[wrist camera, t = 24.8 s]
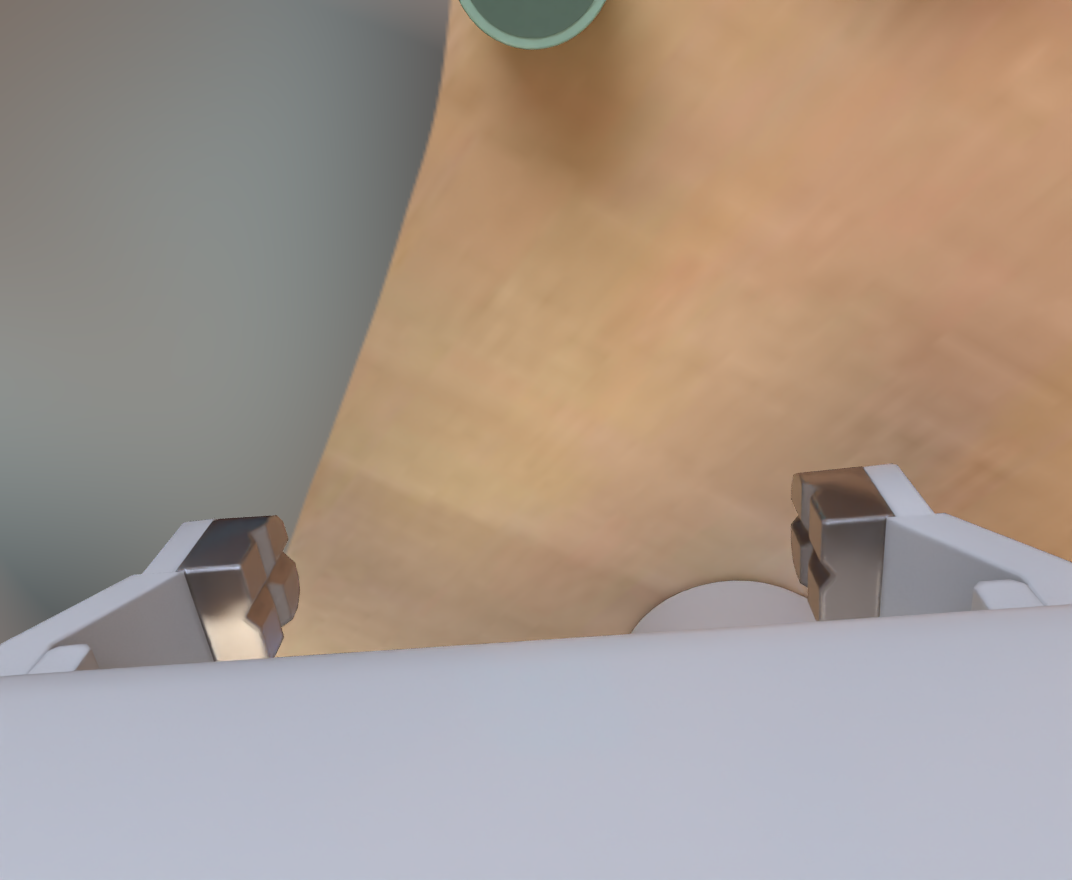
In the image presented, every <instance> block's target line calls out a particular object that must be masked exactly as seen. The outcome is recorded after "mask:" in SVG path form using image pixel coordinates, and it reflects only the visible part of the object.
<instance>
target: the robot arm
mask: <svg viewBox="0 0 1072 880" xmlns="http://www.w3.org/2000/svg"><path fill="white" fill-rule="evenodd" d="M791 500H792V502H793V505H794V507H795V509H796V511H797V513H798V516H797V518H796V519H795V520H794V521H793V523H792V524H791V548H792V556H793V563H794V567H795V571H796V574H797V577H798V579H799V582H800V583H801V584H802V585H804V586H806V587H808V598H805V597H803V596H801V595H798V594H796V593H794V592H792V591H789V590H787V589H784V588H782V587H778V586H775V585H771V584H767V583H761V582H755V581H722V582H715V583H709V584H704V585H701V586H697V587H694V588H691V589H688V590H685V591H683V592H680V593H678V594H676V595H674V596H672V597H670V598H668V599H667V600H665V601H663V602H662V603H660V604H659V605H657V606H656V607H655V608H653V609H652V610H651V611H650V612H649V613H648V614H646V615H645V616H644V617H643V618H642V619H641V621H640V622H639V623H638V624H637V625H636V627H635V628H634V629H633V631H632V632H631V634H622V635H607V636H592V637H577V638H562V639H547V640H532V641H517V642H502V643H487V644H471V645H456V646H441V647H426V648H411V649H396V650H381V651H366V652H351V653H336V654H321V655H306V656H291V657H276V658H274V657H275V655H276V653H277V651H278V649H279V647H280V645H281V643H282V641H283V638H284V635H283V632H282V628H281V627H282V626H284V625H285V624H287V623H288V622H289V621H291V620H292V619H293V617H294V615H295V613H296V610H297V608H298V602H299V594H300V586H299V576H298V572H297V568H296V564H295V562H294V561H293V560H291V559H290V558H289V557H288V556H287V555H286V554H285V553H284V552H282V551H283V549H284V547H285V545H286V543H287V541H288V536H287V533H286V530H285V527H284V523H283V521H282V520H281V519H280V518H279V517H278V516H277V515H275V516H261V517H243V518H228V519H218V520H217V519H207V520H198V521H190V522H185V523H183V524H182V525H181V526H180V527H179V529H178V530H177V531H176V532H175V534H174V535H173V536H172V537H171V539H170V540H169V541H168V542H167V544H166V545H165V546H164V547H163V549H162V550H161V551H160V552H159V554H158V555H157V556H156V557H155V559H154V560H153V561H152V562H151V563H150V565H149V566H148V567H147V568H146V570H145V571H144V572H143V573H142V574H140V575H132V576H130V577H128V578H126V579H124V580H122V581H120V582H118V583H116V584H115V585H113V586H111V587H109V588H107V589H105V590H103V591H101V592H99V593H97V594H95V595H94V596H92V597H90V598H88V599H86V600H84V601H82V602H80V603H78V604H76V605H74V606H72V607H71V608H69V609H67V610H65V611H63V612H61V613H59V614H57V615H55V616H53V617H52V618H50V619H48V620H46V621H44V622H42V623H40V624H38V625H36V626H34V627H33V628H30V629H28V630H27V631H25V632H23V633H21V634H19V635H17V636H15V637H13V638H11V639H9V640H7V641H5V642H4V643H2V644H0V880H1072V562H1070V561H1067V560H1064V559H1062V558H1059V557H1057V556H1054V555H1052V554H1049V553H1046V552H1044V551H1041V550H1039V549H1036V548H1034V547H1031V546H1028V545H1026V544H1023V543H1021V542H1018V541H1016V540H1013V539H1010V538H1008V537H1005V536H1003V535H1000V534H998V533H995V532H992V531H990V530H987V529H985V528H982V527H980V526H977V525H975V524H972V523H969V522H967V521H964V520H962V519H959V518H957V517H954V516H951V515H949V514H946V513H938V514H935V513H934V512H933V511H932V509H931V508H930V507H929V505H928V504H927V503H926V502H925V500H924V499H923V498H922V496H921V495H920V494H919V492H918V491H917V490H916V489H915V487H914V486H913V485H912V483H911V482H910V481H909V480H908V478H907V477H906V476H905V474H904V473H903V472H902V470H901V469H900V468H899V467H898V465H895V464H893V463H891V464H883V465H875V466H867V467H862V466H861V467H852V468H842V469H833V470H823V471H814V472H804V473H797V474H794V475H793V480H792V489H791Z"/></svg>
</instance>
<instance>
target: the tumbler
mask: <svg viewBox="0 0 1072 880" xmlns="http://www.w3.org/2000/svg"><path fill="white" fill-rule="evenodd" d="M459 1H460V3H461V5H462V7H463V9H464V10H465V12H466V13H467V15H468V16H469V17H470V19H471V20H472V21H473V22H474V23H475V24H476V25H477V27H479V28H480V29H481V30H482V31H483V32H484V33H486V34H487V35H488V36H490V37H492V38H493V39H495V40H496V41H499V42H501V43H503V44H505V45H508V46H511V47H514V48H519V49H526V50H538V49H546V48H550V47H554V46H558V45H560V44H562V43H564V42H567V41H569V40H570V39H572V38H574V37H575V36H577V35H578V34H579V33H581V32H582V31H583V30H584V29H585V28H586V27H587V26H588V25H589V24H590V23H591V22H592V21H593V20H594V19H595V17H596V16H597V15H598V13H599V12H600V11H601V9H602V7H603V5H604V4H605V2H606V0H459Z"/></svg>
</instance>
